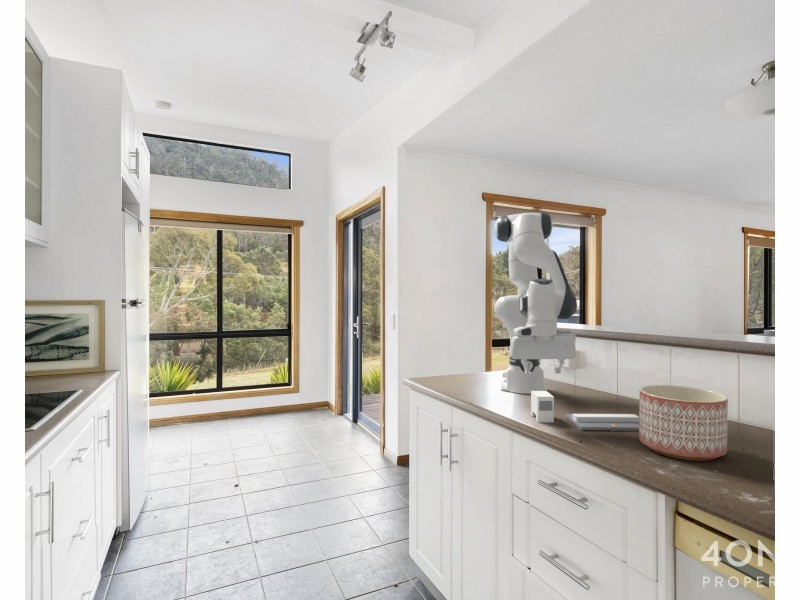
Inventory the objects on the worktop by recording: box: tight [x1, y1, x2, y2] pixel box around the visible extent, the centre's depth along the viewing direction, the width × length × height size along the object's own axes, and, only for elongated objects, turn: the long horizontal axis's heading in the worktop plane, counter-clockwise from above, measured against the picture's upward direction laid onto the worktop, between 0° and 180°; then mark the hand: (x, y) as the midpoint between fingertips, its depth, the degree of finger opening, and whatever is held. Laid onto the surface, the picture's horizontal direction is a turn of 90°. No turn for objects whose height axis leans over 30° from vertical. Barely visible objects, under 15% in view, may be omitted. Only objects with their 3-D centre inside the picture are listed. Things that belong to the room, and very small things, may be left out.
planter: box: [638, 384, 729, 462], centre depth 116 cm, size 19×19×15 cm
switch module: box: [530, 391, 555, 423], centre depth 144 cm, size 8×5×8 cm, turn 178°
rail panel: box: [564, 413, 639, 432], centre depth 138 cm, size 14×20×2 cm
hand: (542, 373), depth 143 cm, fingers open, 8 cm apart
